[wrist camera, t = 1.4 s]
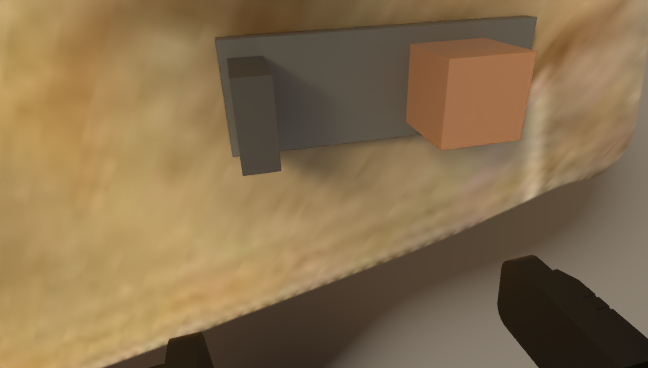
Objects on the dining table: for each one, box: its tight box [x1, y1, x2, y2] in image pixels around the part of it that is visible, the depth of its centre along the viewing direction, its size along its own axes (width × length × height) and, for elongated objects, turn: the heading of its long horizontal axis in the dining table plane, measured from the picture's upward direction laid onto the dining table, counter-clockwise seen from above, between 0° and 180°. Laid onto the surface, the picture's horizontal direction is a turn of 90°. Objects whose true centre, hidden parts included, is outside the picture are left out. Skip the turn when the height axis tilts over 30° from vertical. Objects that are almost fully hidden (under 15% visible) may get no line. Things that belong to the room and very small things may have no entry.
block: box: [406, 38, 537, 150], centre depth 25 cm, size 5×5×5 cm
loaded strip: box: [215, 15, 537, 176], centre depth 25 cm, size 20×7×6 cm, turn 92°
